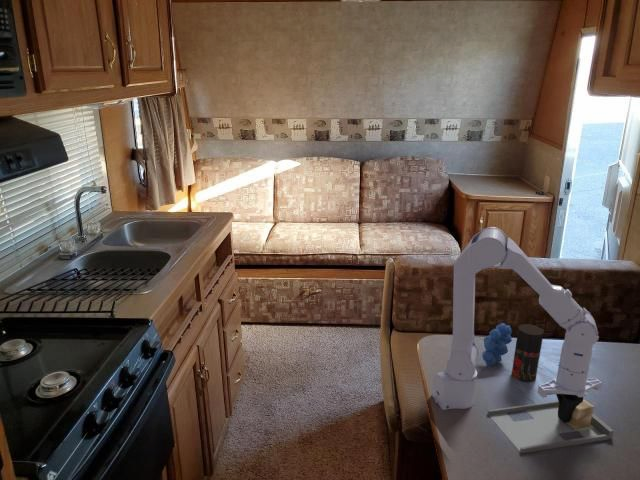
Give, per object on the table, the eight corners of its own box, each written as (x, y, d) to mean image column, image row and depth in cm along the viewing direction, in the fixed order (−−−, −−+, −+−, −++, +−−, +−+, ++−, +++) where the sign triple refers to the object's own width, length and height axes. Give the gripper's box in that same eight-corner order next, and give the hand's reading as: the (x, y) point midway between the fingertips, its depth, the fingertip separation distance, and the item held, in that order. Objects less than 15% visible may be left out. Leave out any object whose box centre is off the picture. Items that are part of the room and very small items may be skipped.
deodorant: (537, 388, 125) (546, 336, 120) (512, 385, 126) (520, 333, 122) (532, 376, 130) (540, 325, 126) (509, 373, 132) (516, 323, 127)
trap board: (520, 459, 101) (522, 445, 100) (486, 419, 113) (488, 406, 112) (610, 444, 105) (613, 430, 104) (568, 407, 117) (571, 395, 116)
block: (574, 429, 107) (579, 409, 106) (558, 417, 111) (562, 398, 110) (589, 425, 109) (594, 406, 107) (573, 414, 113) (577, 395, 111)
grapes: (493, 350, 143) (498, 313, 139) (514, 360, 138) (519, 322, 134) (469, 363, 136) (473, 324, 132) (490, 374, 131) (495, 334, 127)
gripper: (556, 380, 100) (547, 435, 104) (616, 372, 103) (605, 426, 107) (535, 362, 106) (526, 415, 110) (592, 355, 109) (582, 407, 113)
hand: (563, 419), depth 109 cm, fingers closed, pressing on block
